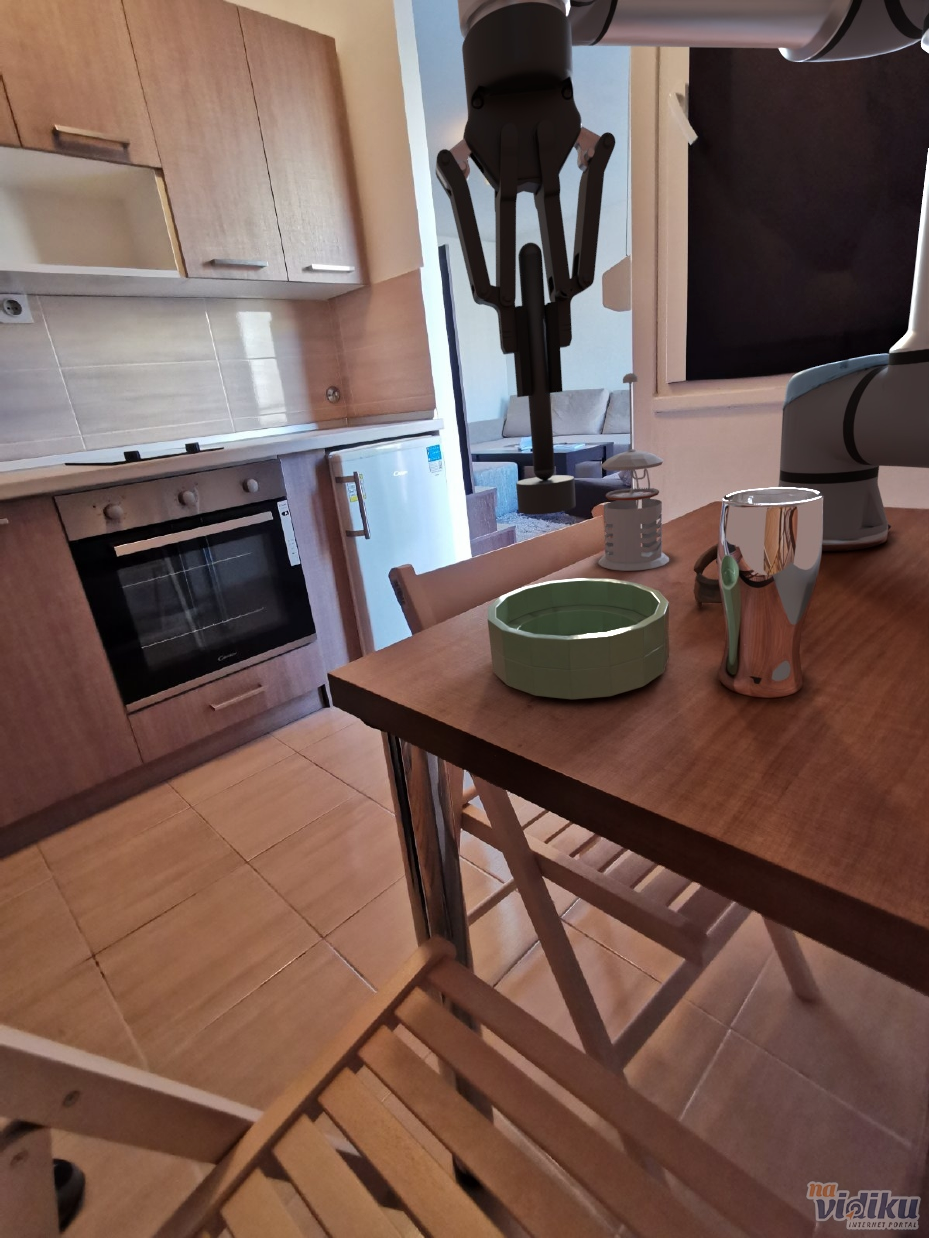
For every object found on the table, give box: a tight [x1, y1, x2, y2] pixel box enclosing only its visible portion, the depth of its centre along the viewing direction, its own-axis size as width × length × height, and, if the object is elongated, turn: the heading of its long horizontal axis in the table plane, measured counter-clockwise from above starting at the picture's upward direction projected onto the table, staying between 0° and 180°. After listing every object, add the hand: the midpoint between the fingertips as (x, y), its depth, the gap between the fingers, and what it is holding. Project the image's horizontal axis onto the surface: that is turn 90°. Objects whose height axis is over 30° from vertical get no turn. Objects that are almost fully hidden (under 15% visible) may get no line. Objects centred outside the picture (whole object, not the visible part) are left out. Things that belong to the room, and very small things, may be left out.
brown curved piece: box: [693, 543, 722, 609], centre depth 64 cm, size 12×10×8 cm
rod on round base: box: [515, 241, 577, 515], centre depth 48 cm, size 5×5×20 cm
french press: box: [597, 372, 670, 572], centre depth 81 cm, size 10×12×25 cm
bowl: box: [487, 577, 670, 700], centre depth 53 cm, size 16×16×6 cm
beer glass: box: [716, 487, 824, 699], centre depth 45 cm, size 7×7×15 cm
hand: (539, 394), depth 48 cm, fingers closed on rod on round base, 2 cm apart
